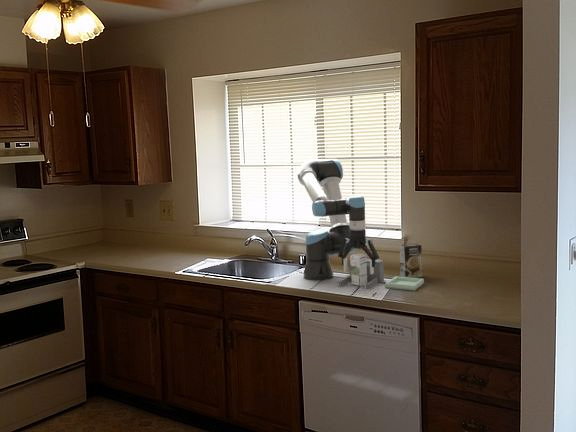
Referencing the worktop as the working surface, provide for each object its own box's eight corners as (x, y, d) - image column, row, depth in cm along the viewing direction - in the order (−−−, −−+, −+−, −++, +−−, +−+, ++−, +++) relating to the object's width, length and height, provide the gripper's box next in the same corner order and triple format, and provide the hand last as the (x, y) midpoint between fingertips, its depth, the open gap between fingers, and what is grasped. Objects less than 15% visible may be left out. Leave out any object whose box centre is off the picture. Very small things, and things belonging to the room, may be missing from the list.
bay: (337, 286, 289) (337, 265, 288) (353, 277, 305) (353, 258, 304) (369, 289, 281) (368, 268, 280) (383, 280, 297) (383, 260, 296)
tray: (385, 288, 282) (385, 283, 282) (395, 281, 294) (395, 276, 294) (414, 290, 275) (414, 285, 275) (423, 283, 287) (423, 278, 287)
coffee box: (405, 279, 298) (404, 246, 295) (399, 276, 304) (399, 244, 301) (422, 277, 300) (421, 245, 298) (416, 274, 306) (415, 242, 304)
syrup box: (367, 284, 291) (366, 254, 289) (360, 286, 287) (359, 256, 285) (358, 282, 295) (357, 253, 293) (350, 284, 291) (349, 255, 289)
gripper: (330, 229, 290) (331, 272, 293) (379, 231, 278) (380, 276, 281) (337, 226, 297) (338, 269, 300) (385, 228, 284) (386, 272, 287)
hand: (358, 272), depth 290 cm, fingers open, 13 cm apart
